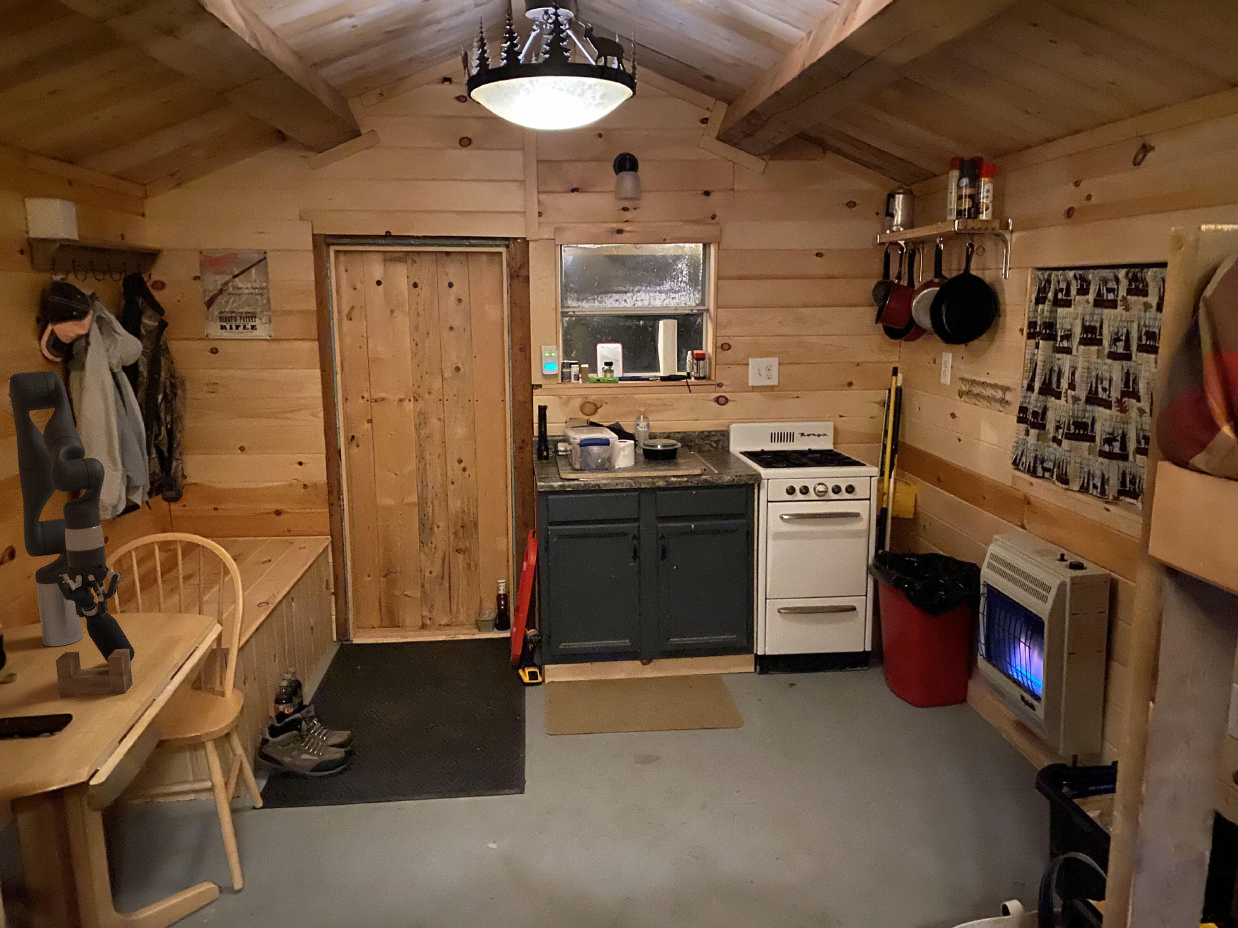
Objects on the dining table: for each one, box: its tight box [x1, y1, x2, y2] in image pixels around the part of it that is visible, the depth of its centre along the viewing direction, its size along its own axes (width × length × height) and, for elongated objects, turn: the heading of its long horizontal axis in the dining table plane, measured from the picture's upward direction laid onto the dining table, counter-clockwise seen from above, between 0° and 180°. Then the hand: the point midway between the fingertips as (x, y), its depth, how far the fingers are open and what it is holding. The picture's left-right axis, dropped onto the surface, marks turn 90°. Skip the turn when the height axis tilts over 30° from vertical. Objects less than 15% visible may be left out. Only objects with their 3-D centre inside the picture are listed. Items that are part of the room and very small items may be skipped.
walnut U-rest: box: [55, 649, 134, 698], centre depth 211 cm, size 5×14×9 cm, turn 100°
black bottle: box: [71, 586, 135, 664], centre depth 216 cm, size 6×6×30 cm
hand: (92, 615), depth 210 cm, fingers closed on black bottle, 3 cm apart
